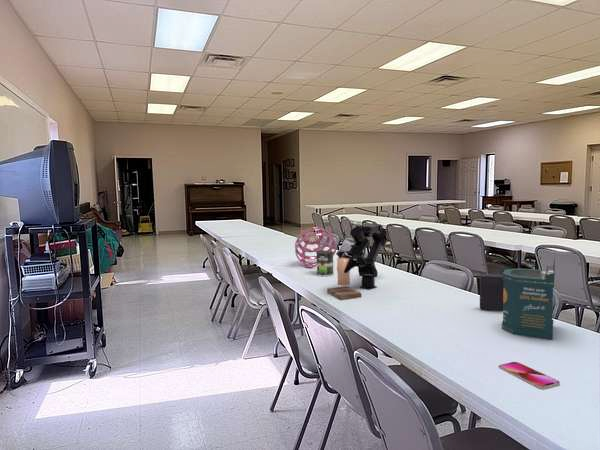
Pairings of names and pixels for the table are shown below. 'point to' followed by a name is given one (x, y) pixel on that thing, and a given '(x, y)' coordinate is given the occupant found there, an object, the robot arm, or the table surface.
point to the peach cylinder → (343, 277)
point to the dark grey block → (491, 292)
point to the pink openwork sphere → (317, 241)
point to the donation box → (529, 302)
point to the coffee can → (325, 263)
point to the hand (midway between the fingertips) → (341, 271)
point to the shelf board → (344, 292)
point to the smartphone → (529, 375)
